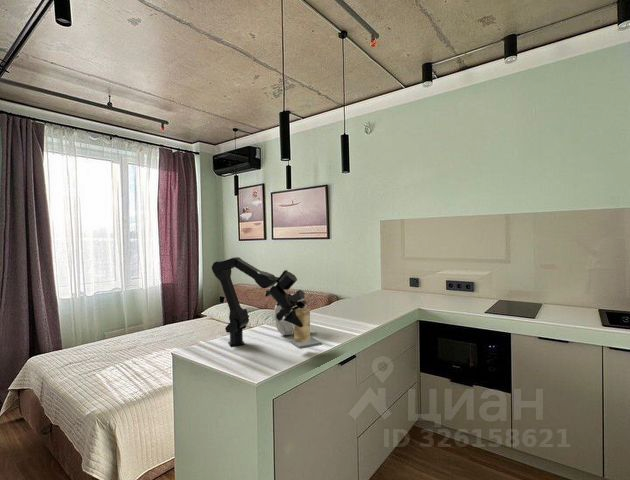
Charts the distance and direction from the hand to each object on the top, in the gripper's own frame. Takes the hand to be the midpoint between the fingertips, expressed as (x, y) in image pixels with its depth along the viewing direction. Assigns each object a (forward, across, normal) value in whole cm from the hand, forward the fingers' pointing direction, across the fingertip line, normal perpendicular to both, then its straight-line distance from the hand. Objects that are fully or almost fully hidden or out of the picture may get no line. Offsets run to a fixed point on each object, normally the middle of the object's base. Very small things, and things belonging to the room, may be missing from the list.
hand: (305, 325), depth 135 cm
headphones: (-5, +22, +21) cm, 31 cm away
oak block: (+4, 0, +6) cm, 7 cm away
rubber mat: (+4, +11, +12) cm, 17 cm away
